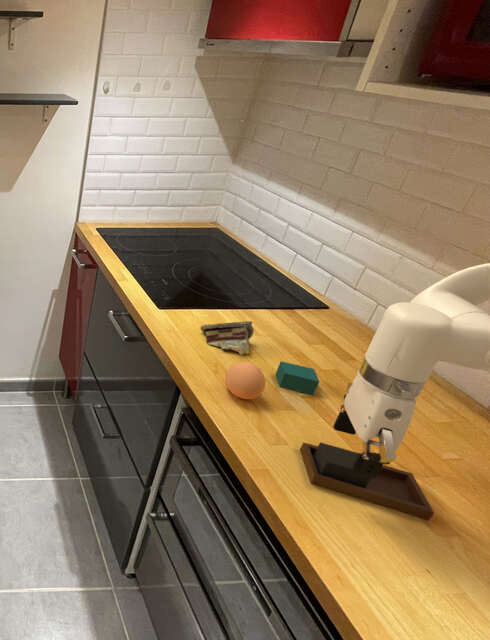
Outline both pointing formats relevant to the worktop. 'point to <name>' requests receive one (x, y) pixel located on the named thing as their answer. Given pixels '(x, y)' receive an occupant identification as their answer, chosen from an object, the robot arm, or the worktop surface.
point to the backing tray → (375, 487)
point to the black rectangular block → (338, 464)
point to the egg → (245, 380)
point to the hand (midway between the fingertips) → (352, 451)
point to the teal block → (297, 378)
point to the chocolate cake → (229, 335)
